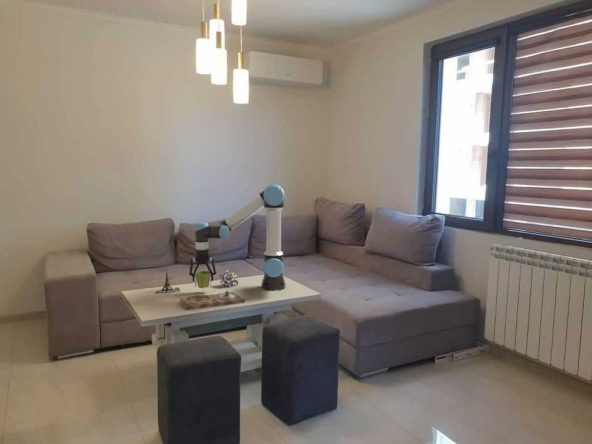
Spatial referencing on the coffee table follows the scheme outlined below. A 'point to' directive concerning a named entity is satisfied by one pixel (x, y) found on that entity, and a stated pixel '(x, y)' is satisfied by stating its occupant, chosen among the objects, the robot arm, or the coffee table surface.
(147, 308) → the coffee table surface
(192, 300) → the mount board
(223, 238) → the robot arm
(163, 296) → the coffee table surface
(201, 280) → the plant pot
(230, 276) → the passion flower
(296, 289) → the coffee table surface
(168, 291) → the eiffel tower figurine
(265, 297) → the coffee table surface
